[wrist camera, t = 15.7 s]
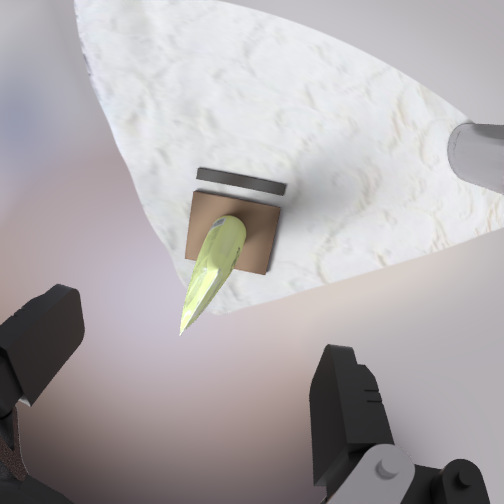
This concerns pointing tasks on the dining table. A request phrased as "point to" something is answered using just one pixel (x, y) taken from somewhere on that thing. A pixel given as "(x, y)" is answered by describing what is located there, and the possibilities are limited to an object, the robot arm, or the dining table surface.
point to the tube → (213, 266)
